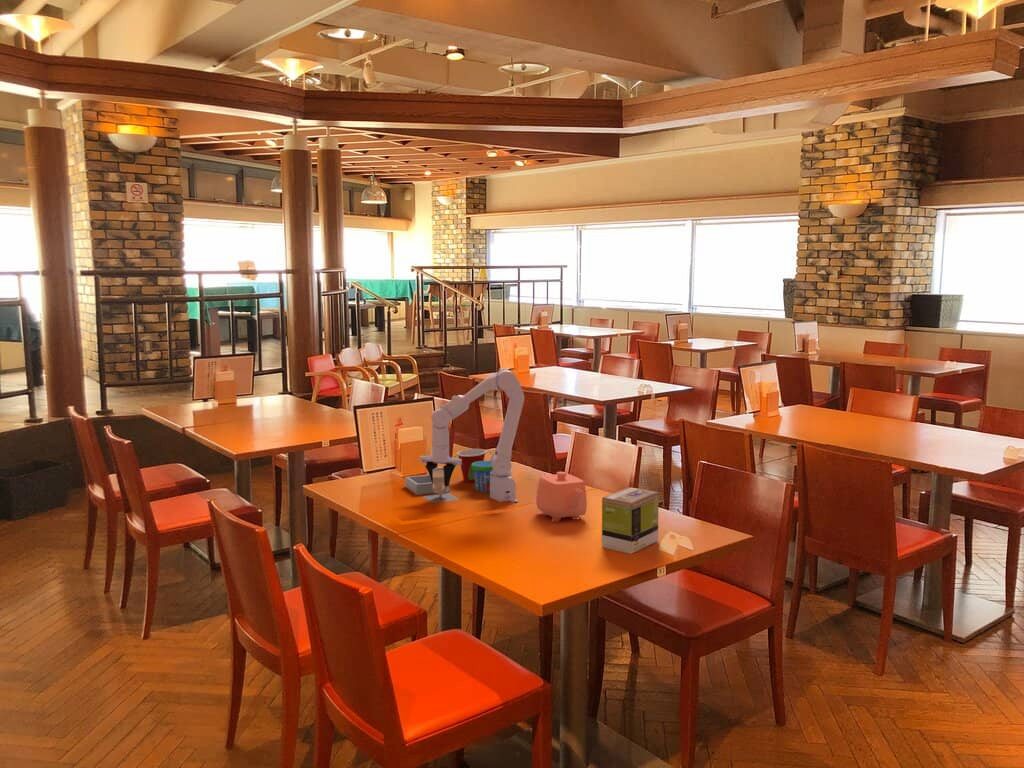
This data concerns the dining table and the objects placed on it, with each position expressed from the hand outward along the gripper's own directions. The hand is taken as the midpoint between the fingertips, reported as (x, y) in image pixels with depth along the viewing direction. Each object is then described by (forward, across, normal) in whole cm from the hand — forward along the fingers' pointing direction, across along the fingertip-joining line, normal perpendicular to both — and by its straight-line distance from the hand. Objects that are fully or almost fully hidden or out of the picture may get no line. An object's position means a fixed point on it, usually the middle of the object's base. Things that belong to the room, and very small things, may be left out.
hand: (440, 484), depth 274 cm
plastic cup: (+6, -1, -26) cm, 27 cm away
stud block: (+5, 0, 0) cm, 5 cm away
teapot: (+6, -43, +4) cm, 44 cm away
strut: (+2, 0, 0) cm, 2 cm away
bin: (+5, +9, -9) cm, 14 cm away
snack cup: (+6, -10, -16) cm, 20 cm away
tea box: (+6, -68, +23) cm, 73 cm away
